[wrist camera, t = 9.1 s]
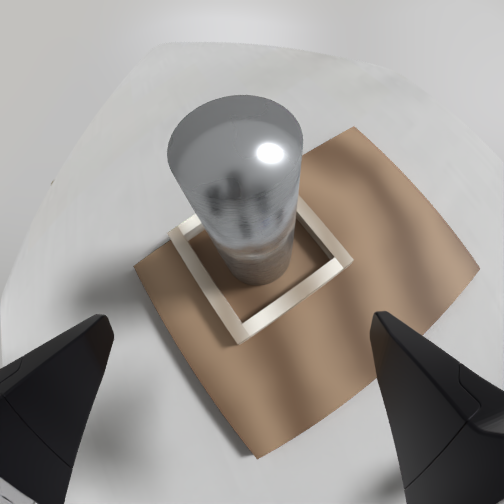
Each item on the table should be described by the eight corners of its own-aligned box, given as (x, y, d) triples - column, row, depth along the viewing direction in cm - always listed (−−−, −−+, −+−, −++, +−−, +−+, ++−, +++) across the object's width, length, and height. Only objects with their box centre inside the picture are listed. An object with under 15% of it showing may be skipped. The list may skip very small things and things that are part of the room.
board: (258, 454, 18) (255, 465, 16) (139, 270, 24) (126, 261, 22) (473, 272, 21) (487, 264, 19) (351, 133, 27) (356, 118, 25)
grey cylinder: (267, 298, 21) (251, 225, 9) (212, 262, 22) (141, 162, 10) (304, 243, 22) (326, 123, 10) (249, 211, 24) (221, 83, 11)
